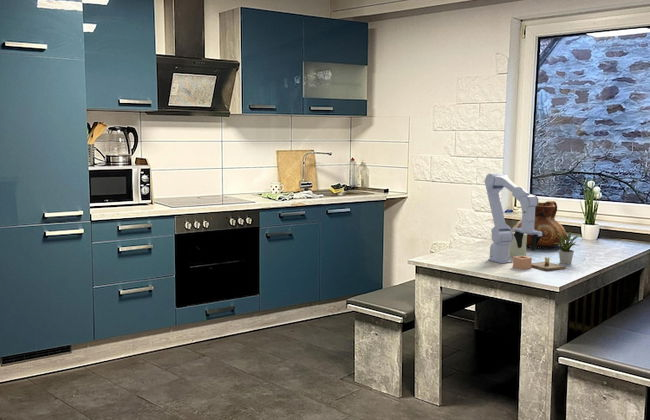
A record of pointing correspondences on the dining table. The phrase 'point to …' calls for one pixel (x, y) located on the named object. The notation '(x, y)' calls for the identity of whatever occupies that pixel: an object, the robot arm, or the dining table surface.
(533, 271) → the dining table surface
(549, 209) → the jug
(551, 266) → the keeper
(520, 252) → the can
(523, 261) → the open box
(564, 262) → the house plant
